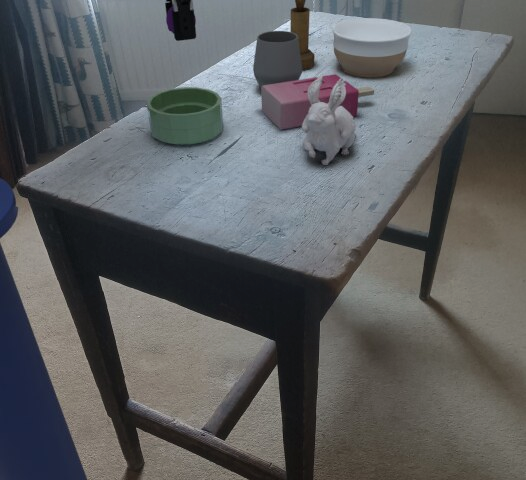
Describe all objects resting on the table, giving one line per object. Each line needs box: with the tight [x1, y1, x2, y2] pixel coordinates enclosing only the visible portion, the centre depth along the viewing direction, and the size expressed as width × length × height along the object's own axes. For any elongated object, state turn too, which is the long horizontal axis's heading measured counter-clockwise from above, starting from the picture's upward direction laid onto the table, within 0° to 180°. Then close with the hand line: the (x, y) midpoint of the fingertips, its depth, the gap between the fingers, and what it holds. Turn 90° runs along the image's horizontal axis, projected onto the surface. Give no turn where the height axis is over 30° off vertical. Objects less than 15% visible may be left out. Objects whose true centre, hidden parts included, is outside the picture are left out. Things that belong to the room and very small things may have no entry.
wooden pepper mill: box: [289, 0, 315, 71], centre depth 121 cm, size 7×6×18 cm
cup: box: [252, 30, 303, 89], centre depth 112 cm, size 10×9×10 cm
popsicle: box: [260, 73, 375, 131], centre depth 105 cm, size 9×5×20 cm
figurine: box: [301, 74, 357, 166], centre depth 91 cm, size 8×15×13 cm, turn 157°
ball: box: [165, 6, 197, 35], centre depth 88 cm, size 4×4×4 cm
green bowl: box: [146, 86, 224, 146], centre depth 99 cm, size 12×12×6 cm
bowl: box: [331, 17, 413, 78], centre depth 122 cm, size 16×16×8 cm
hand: (181, 33), depth 89 cm, fingers closed on ball, 4 cm apart
